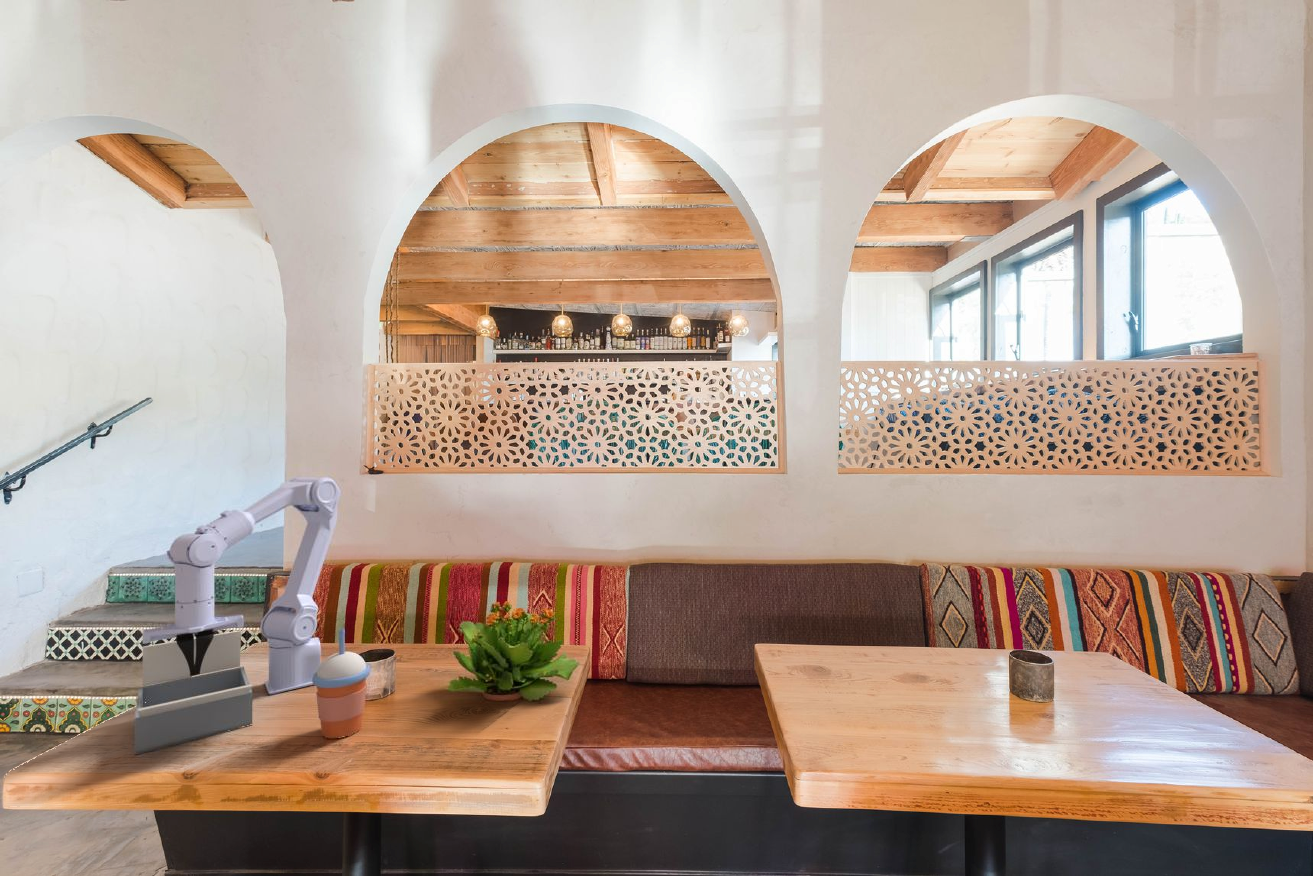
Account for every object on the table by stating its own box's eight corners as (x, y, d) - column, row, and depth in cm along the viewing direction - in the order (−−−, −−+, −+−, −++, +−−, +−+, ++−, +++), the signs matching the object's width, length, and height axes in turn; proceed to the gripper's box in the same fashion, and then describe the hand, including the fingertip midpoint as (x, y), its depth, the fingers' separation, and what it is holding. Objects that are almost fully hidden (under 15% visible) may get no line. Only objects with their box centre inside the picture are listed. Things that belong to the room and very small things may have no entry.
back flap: (240, 666, 119) (239, 665, 120) (241, 630, 118) (240, 630, 118) (142, 685, 110) (142, 685, 110) (142, 647, 108) (142, 646, 109)
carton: (243, 696, 120) (243, 666, 120) (252, 725, 107) (252, 691, 107) (138, 720, 109) (138, 687, 110) (134, 755, 97) (134, 718, 97)
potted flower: (468, 733, 104) (468, 633, 104) (419, 691, 122) (419, 606, 122) (586, 693, 120) (585, 606, 121) (528, 661, 138) (528, 586, 138)
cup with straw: (310, 749, 99) (310, 640, 99) (313, 726, 107) (313, 626, 107) (371, 736, 103) (371, 632, 103) (369, 715, 111) (369, 619, 111)
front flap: (252, 684, 102) (252, 685, 101) (248, 691, 107) (248, 693, 107) (138, 708, 92) (138, 711, 92) (139, 716, 98) (139, 718, 97)
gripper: (142, 611, 101) (141, 691, 101) (245, 597, 110) (245, 670, 110) (143, 603, 106) (143, 678, 106) (241, 590, 116) (241, 659, 116)
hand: (194, 673), depth 109 cm, fingers closed
